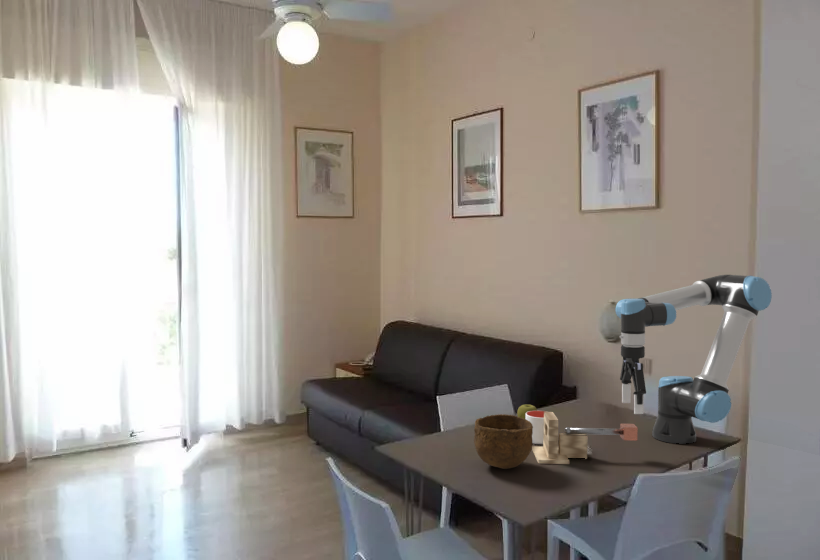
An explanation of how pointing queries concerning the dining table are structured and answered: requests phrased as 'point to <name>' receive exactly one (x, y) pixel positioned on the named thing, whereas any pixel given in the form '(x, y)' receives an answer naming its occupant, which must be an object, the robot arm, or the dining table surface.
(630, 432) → the metal rod with block
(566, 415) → the dining table surface
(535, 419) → the cup
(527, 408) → the apple
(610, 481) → the dining table surface
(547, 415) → the slotted wooden stand
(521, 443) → the bowl
